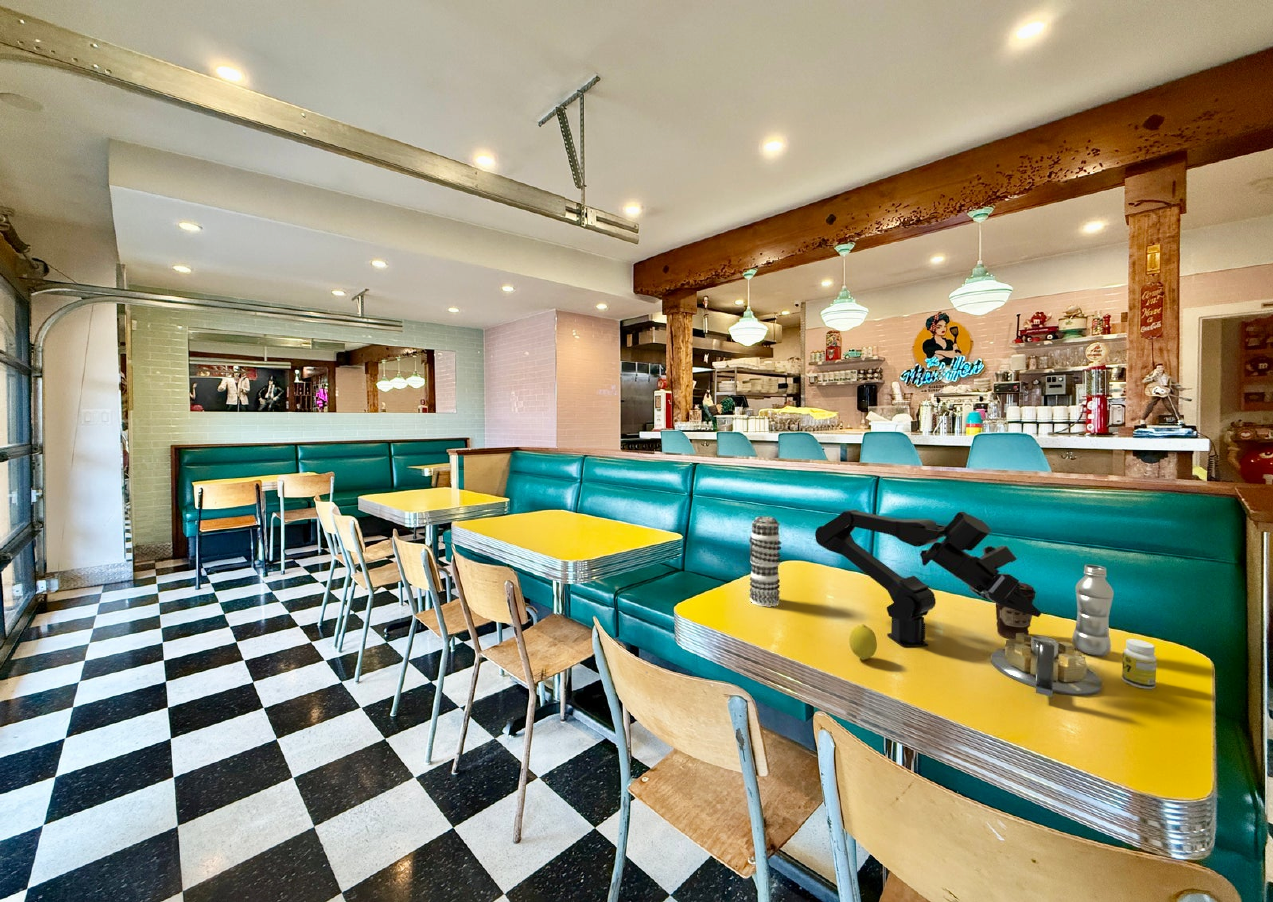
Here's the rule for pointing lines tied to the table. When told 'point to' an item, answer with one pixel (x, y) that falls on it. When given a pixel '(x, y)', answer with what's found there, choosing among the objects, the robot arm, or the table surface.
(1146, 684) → the supplement bottle
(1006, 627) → the coffee cup
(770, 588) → the decorative candle
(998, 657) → the cap flange
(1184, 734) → the table surface
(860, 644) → the lemon
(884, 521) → the robot arm
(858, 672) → the table surface
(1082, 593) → the plastic bottle
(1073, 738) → the table surface
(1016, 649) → the tan toy bricks
